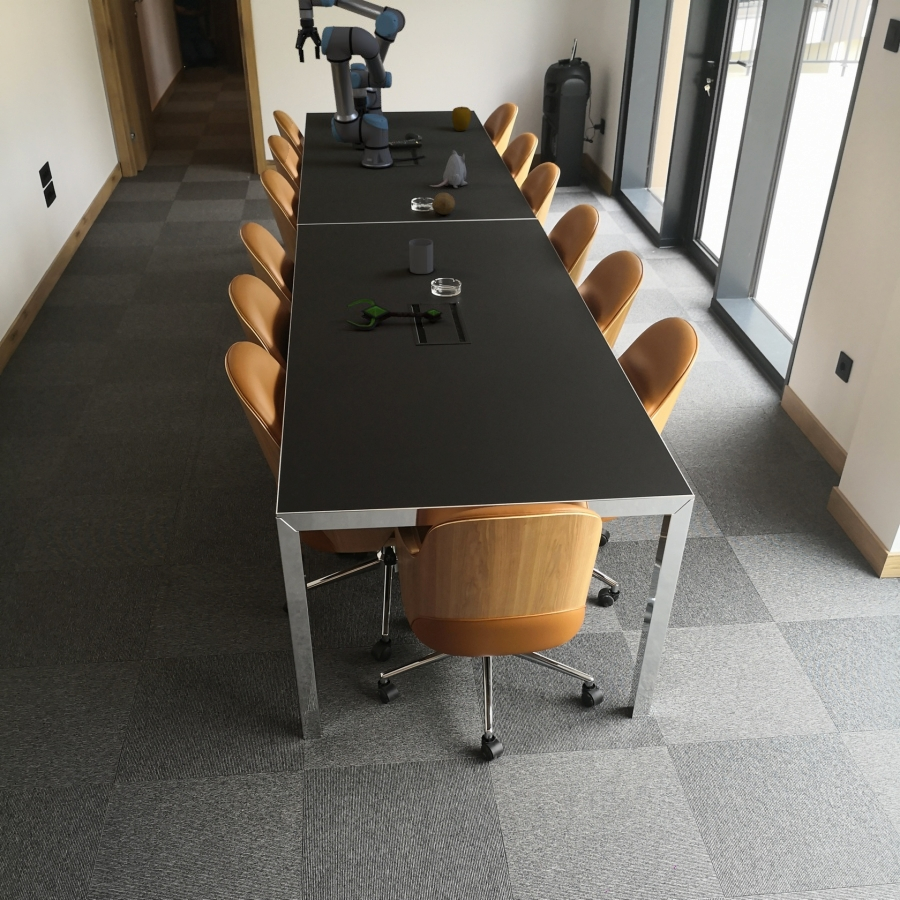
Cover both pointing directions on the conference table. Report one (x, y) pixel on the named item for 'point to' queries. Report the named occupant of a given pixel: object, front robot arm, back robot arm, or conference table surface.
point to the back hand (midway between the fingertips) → (310, 60)
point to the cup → (421, 256)
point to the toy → (454, 171)
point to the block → (362, 145)
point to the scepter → (389, 314)
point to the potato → (443, 203)
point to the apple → (461, 118)
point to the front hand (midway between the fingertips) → (361, 142)
